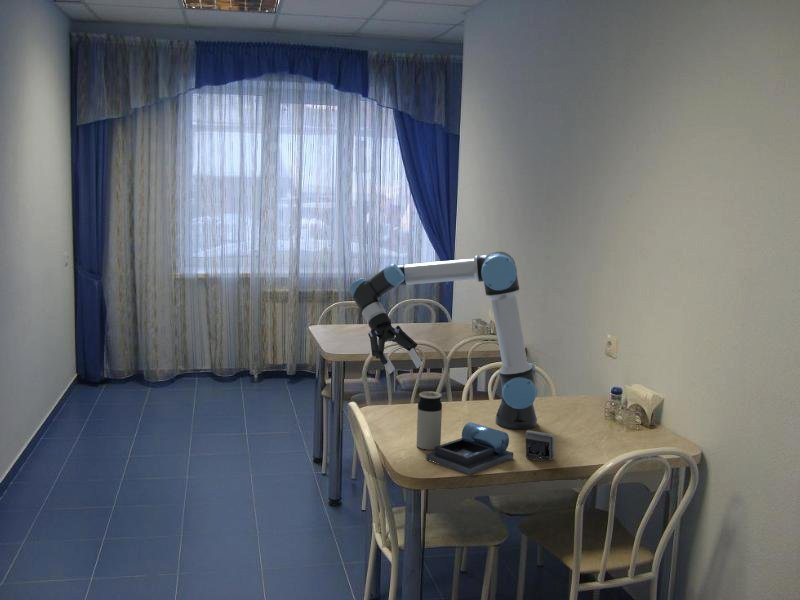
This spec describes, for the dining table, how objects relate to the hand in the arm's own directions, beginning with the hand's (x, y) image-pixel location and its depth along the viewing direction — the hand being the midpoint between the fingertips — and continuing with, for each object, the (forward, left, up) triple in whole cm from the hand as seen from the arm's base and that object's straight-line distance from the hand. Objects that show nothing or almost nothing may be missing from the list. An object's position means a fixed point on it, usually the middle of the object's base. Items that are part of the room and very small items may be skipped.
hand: (406, 368), depth 270 cm
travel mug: (0, +11, -25) cm, 27 cm away
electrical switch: (-18, +43, -25) cm, 53 cm away
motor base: (-1, +28, -25) cm, 37 cm away
